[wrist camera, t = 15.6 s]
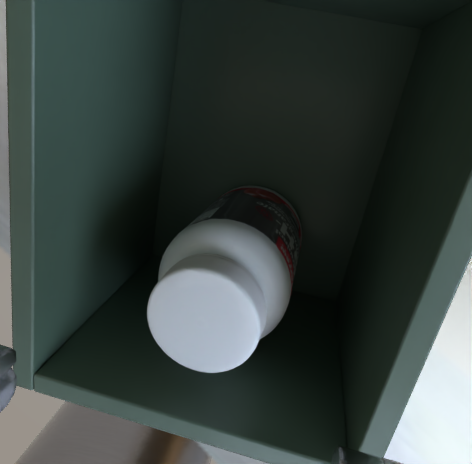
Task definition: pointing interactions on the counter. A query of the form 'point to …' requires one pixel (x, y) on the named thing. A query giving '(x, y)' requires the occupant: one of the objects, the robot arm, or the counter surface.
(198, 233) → the pill bottle
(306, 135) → the chest
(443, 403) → the counter surface
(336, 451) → the robot arm
